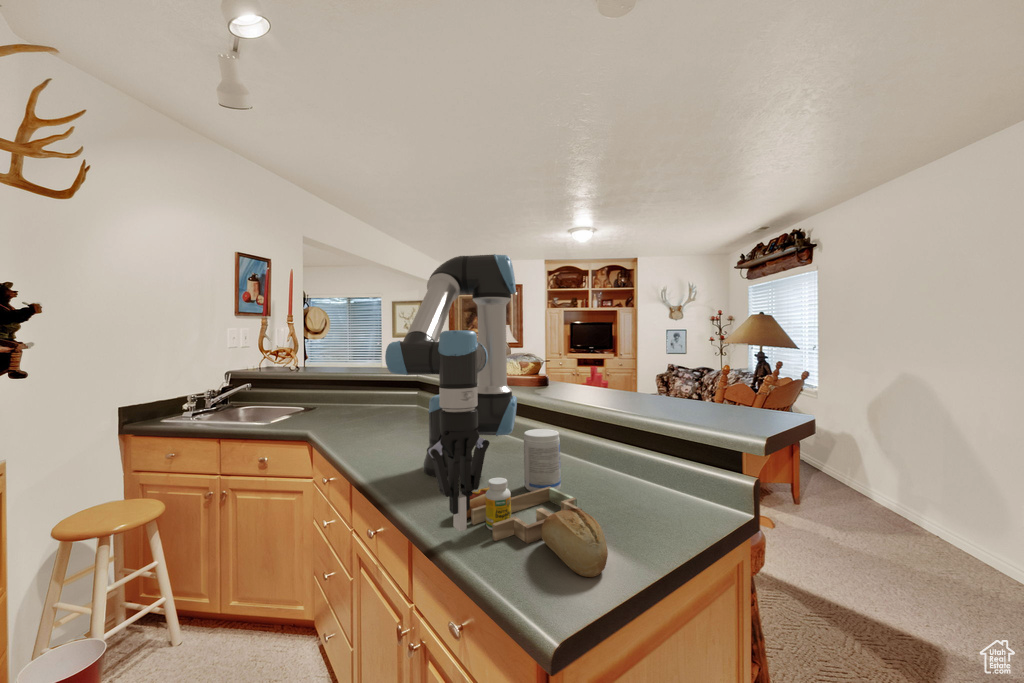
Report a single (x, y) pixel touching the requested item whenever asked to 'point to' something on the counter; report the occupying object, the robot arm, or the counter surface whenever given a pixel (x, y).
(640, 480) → the counter surface
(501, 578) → the counter surface
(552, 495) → the light wood frame
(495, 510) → the supplement bottle
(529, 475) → the supplement tub
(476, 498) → the food
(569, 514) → the bread roll
